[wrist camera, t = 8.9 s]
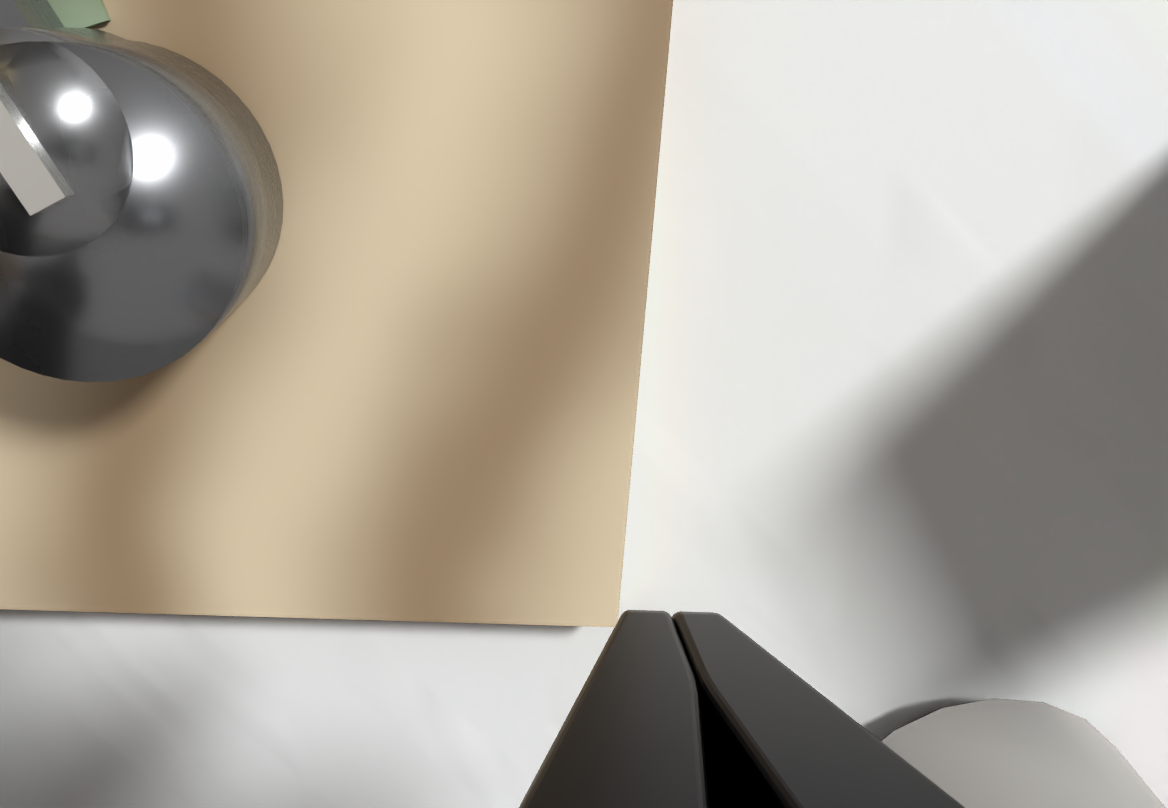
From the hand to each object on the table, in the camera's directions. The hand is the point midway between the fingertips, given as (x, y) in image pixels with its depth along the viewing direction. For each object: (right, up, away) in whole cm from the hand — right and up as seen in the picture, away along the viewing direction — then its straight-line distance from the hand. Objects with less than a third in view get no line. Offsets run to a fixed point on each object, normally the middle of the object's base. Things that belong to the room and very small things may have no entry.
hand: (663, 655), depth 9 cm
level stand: (-8, +6, +10) cm, 15 cm away
